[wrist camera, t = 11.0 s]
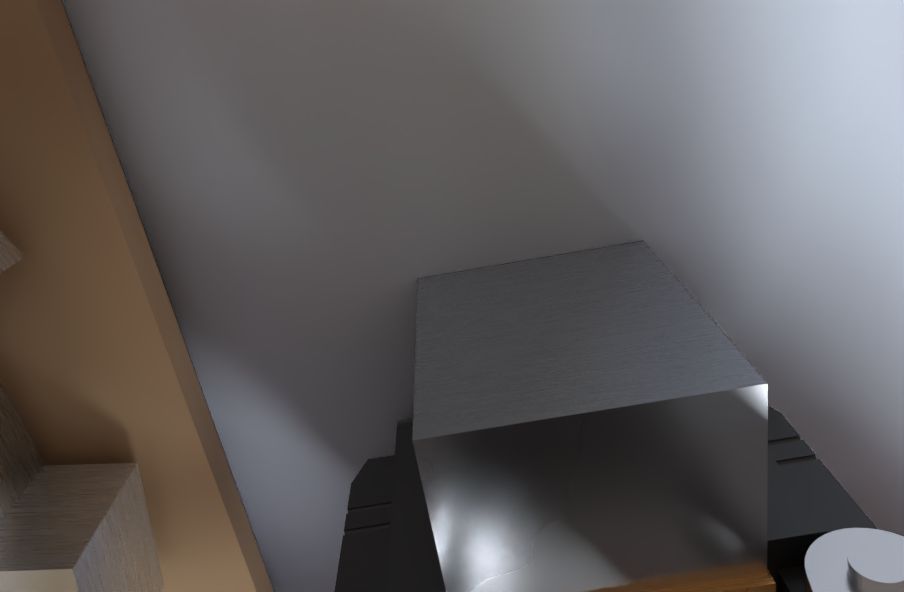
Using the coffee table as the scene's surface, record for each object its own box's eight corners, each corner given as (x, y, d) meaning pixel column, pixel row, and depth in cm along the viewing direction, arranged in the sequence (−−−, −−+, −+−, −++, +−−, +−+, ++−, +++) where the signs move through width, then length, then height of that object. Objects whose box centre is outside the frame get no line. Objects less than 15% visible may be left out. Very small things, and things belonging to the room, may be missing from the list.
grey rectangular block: (666, 568, 12) (773, 825, 9) (480, 597, 13) (503, 861, 9) (644, 240, 10) (778, 391, 6) (416, 278, 10) (410, 450, 6)
